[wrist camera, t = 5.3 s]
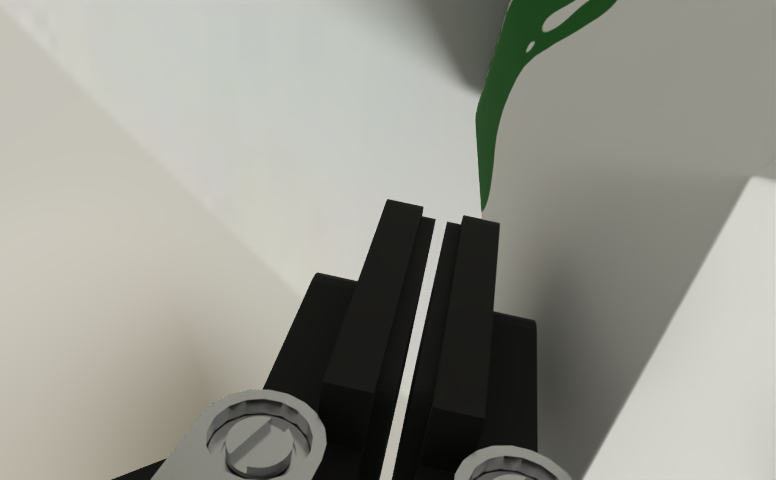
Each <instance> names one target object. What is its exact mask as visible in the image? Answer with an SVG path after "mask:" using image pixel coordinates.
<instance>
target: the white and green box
mask: <svg viewBox="0 0 776 480" xmlns="http://www.w3.org/2000/svg"><path fill="white" fill-rule="evenodd" d="M476 137H477V152H478V167H479V182H480V197H481V212H482V219H484V220H488V221H493V222H498V223H500V233H499V246H498V259H497V272H496V285H495V298H494V311H495V312H500V313H504V314H509V315H513V316H518V317H522V318H527V319H532V320H535V322H536V325H537V426H538V454H540V455H542V456H545V457H547V458H549V459H551V460H552V461H553V462H554V463H556V464H557V465H558V466H559V467H561V468H562V469H563V470H565V471H566V472H567V473H568V474H569V476H570V477H571V478H572V479H573V480H776V0H510V3H509V6H508V8H507V12H506V15H505V18H504V21H503V25H502V28H501V31H500V34H499V38H498V41H497V44H496V48H495V51H494V54H493V57H492V61H491V64H490V67H489V70H488V74H487V77H486V80H485V83H484V87H483V90H482V93H481V96H480V100H479V103H478V107H477V112H476Z"/></svg>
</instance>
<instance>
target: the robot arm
mask: <svg viewBox="0 0 776 480" xmlns="http://www.w3.org/2000/svg"><path fill="white" fill-rule="evenodd" d="M422 213H423V207H422V206H417V205H413V204H408V203H403V202H398V201H394V200H389V199H387V201H386V204H385V207H384V210H383V212H382V215H381V218H380V221H379V224H378V226H377V229H376V232H375V235H374V238H373V240H372V243H371V246H370V249H369V252H368V254H367V257H366V260H365V263H364V266H363V268H362V271H361V274H360V277H359V280H358V281H354V280H349V279H345V278H340V277H336V276H331V275H326V274H322V273H316V274H315V276H314V277H313V279H312V281H311V283H310V286H309V288H308V290H307V292H306V295H305V297H304V299H303V301H302V303H301V306H300V308H299V310H298V313H297V314H296V317H295V319H294V321H293V324H292V326H291V328H290V330H289V332H288V335H287V337H286V339H285V341H284V343H283V346H282V348H281V350H280V352H279V355H278V357H277V359H276V361H275V363H274V366H273V368H272V370H271V372H270V374H269V377H268V379H267V381H266V383H265V385H264V388H263V390H246V391H242V392H238V393H234V394H230V395H228V396H226V397H224V398H222V399H220V400H218V401H216V402H214V403H213V404H212V405H211V406H210V407H209V408H208V409H206V410H205V411H204V412H203V413H202V414H201V415H200V416H199V418H198V419H197V420H196V421H195V423H194V424H193V425H192V427H191V428H190V429H189V431H188V432H187V433H186V434H185V436H184V437H183V439H182V440H181V441H180V442H179V444H178V445H177V446H176V447H175V449H174V450H173V451H172V453H171V454H170V455H169V457H168V458H167V459H164V460H161V461H159V462H156V463H153V464H151V465H148V466H146V467H143V468H141V469H138V470H135V471H133V472H130V473H128V474H125V475H123V476H120V477H117V478H115V479H112V480H379V479H380V475H381V470H382V466H383V461H384V457H385V452H386V448H387V443H388V439H389V434H390V430H391V425H392V421H393V416H394V412H395V407H396V403H397V399H398V394H399V390H400V385H401V381H402V376H403V372H404V367H405V362H406V358H407V353H408V348H409V343H410V339H411V334H412V329H413V324H414V320H415V315H416V310H417V305H418V301H419V296H420V291H421V286H422V282H423V277H424V272H425V268H426V263H427V258H428V253H429V249H430V244H431V239H432V234H433V230H434V225H435V220H436V219H432V218H427V217H423V216H422ZM499 233H500V223H498V222H493V221H488V220H484V219H479V218H474V217H469V216H465V215H463V219H462V222H461V225H460V224H455V223H451V222H447V225H446V229H445V234H444V238H443V243H442V247H441V252H440V256H439V261H438V265H437V270H436V274H435V279H434V283H433V288H432V292H431V297H430V302H429V306H428V311H427V315H426V320H425V324H424V329H423V333H422V338H421V342H420V347H419V351H418V356H417V360H416V365H415V370H414V374H413V379H412V384H411V389H410V394H409V399H408V403H407V409H406V413H405V418H404V423H403V428H402V433H401V438H400V442H399V447H398V452H397V457H396V462H395V467H394V472H393V477H392V480H573V479H572V478H571V477H570V476H569V474H568V473H567V472H566V471H565V470H563V469H562V468H561V467H559V466H558V465H557V464H556V463H554V462H553V461H552V460H551V459H549V458H547V457H545V456H542V455H540V454H538V426H537V325H536V322H535V320H532V319H527V318H522V317H518V316H513V315H509V314H504V313H500V312H495V311H494V298H495V285H496V272H497V259H498V246H499Z"/></svg>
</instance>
